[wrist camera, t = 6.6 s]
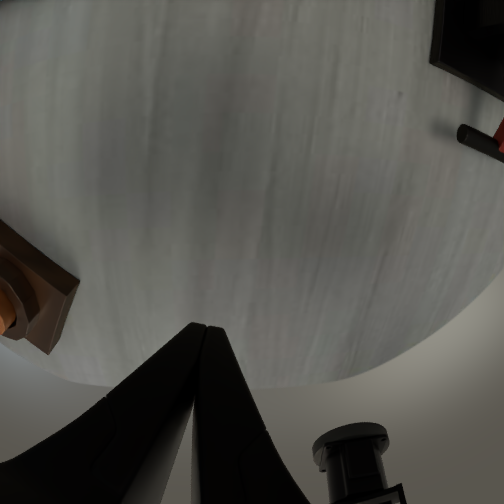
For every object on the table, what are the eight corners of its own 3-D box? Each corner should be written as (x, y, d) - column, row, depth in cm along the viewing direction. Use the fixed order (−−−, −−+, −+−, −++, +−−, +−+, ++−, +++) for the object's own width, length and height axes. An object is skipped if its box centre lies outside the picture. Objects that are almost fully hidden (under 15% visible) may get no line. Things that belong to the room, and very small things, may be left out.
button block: (80, 281, 22) (54, 310, 18) (59, 340, 25) (39, 369, 21) (-8, 212, 20) (-39, 231, 16) (-17, 279, 22) (-42, 301, 19)
